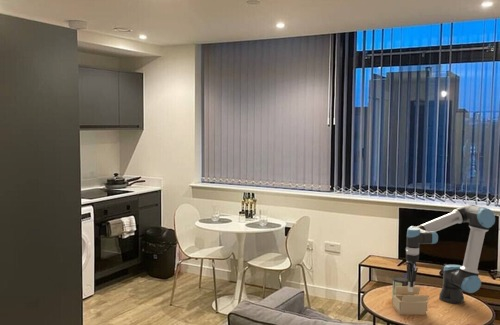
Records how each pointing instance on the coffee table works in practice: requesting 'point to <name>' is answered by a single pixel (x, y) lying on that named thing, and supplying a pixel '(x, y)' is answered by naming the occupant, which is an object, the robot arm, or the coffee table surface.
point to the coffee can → (399, 284)
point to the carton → (409, 306)
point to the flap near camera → (415, 298)
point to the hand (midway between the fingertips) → (410, 291)
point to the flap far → (405, 290)
